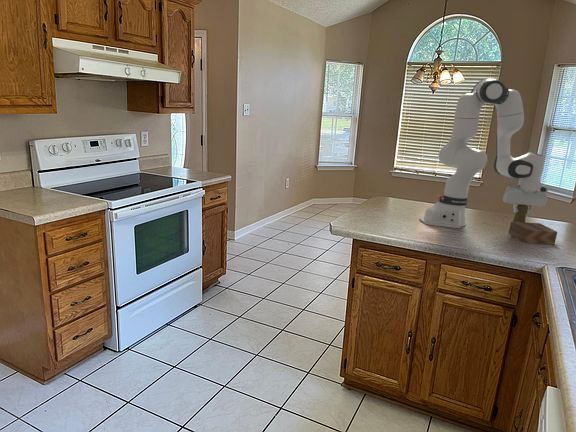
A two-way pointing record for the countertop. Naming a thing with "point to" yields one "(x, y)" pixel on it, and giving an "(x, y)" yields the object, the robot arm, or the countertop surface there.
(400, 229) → the countertop surface
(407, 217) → the countertop surface
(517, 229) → the walnut block
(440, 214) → the robot arm
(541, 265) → the countertop surface
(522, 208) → the cork
